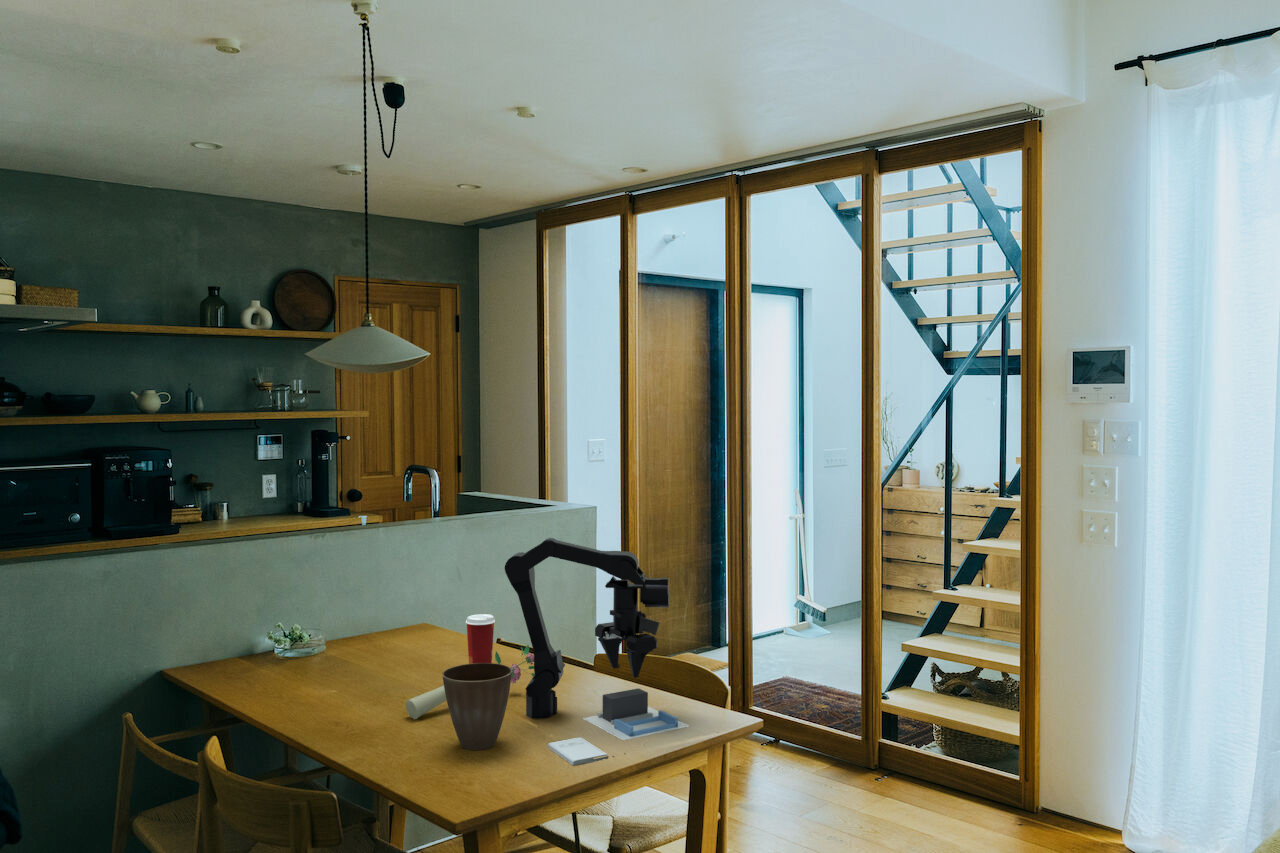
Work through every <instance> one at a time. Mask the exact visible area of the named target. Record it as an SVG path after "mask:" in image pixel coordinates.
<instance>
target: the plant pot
mask: <svg viewBox="0 0 1280 853" xmlns="http://www.w3.org/2000/svg"><path fill="white" fill-rule="evenodd" d="M510 667H511V666H508V665H505V664H502V663H500V664H498V663H493V662H492V663H472V664H469V663H465V664H459V665H455V666H452V667H449V668H447V669H445V670H444V671H443V672H442V682H443V685H444V689H445V695H446V699H447V700H446V703H447V707H448V710H449V716H450V718H451V719H450V720H451V722H452V725H453V728H454V731H455V733H456V737H457V739H458V741H459V744H460V747H461V748H463V749H464V750H468V751H482V750H486V749H490V748H493V747H494V746H495V745H496V744H497V740H498V736H499V735H500V732H501V731H500V730H502V729H501V728H502V726H503V721H504V717H505V713H506V710H507V706H508V701H509V696H510V690H511V683H512V682H511V675H512V669H511V668H510Z"/></svg>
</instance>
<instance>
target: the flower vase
mask: <svg viewBox="0 0 1280 853" xmlns="http://www.w3.org/2000/svg"><path fill="white" fill-rule="evenodd" d="M520 650H521V656H526V657H524V659H525V660H524V659H522V660H521V662H520V663H519V664H516V663H512V665H511V666H509V667H510V668H511V669H512V675H511V683H512V684H516V683H517V681H519V680H520V678H521V675H522V674H521V672H522V671H523V672H525V669H521V668H520V667H519V666H520V665H522V664H524V663H526V664H527V665H528V664H530V665H529V666H528V667H527V668H526V673H527V674H528V675H529V674H530V675H531V676H532V678H533V677H534V676H535V673H534V672H532V673H529V672H527V670H534V654H533V653H531V652H530V646H529V644H527V645H526V646H525V648H524V649H523V646H520ZM494 657H495V659H494V660H495V662H496V664H502V659H501V657H500V654H499V653H498V651H496V650H495V654H494ZM523 660H524V661H523ZM445 701H446V702H447V699H446V695H445V689H444V684H443V685H442V686H439V687H437V688H435V689H431V690H430V691H427V692H425V693H422V694H420V695H417V696H415V697H412V698H410V699H407V700H406V701H405V710H406V712H407V713H408V715H409V717H410V718H411V719H412V718H413V720H415V719H416V720H417V719H419V718H420V717H422V716H423V715H425V714H427V713H428V712H430V711H432V710H433V709H434V708H436V707H438V706H439V705H441V704H442V703H444V702H445Z"/></svg>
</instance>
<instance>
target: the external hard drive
mask: <svg viewBox="0 0 1280 853" xmlns="http://www.w3.org/2000/svg"><path fill="white" fill-rule="evenodd" d="M547 748H549V749H550V751H552V752H554V753H555V754H556V755H558V756H559V757H561V758H562V759H563V760H565V761H566V762H567V761H568V762H567V763H569V764H570V765H571V766H573V765H574V766H579V765H583V763H584V764H590V763H593V762H598V761H604V760H603V759H605V760H609V756H608V755H609V754H608V753H606V752H604V751H603V750H602V749H600V748H599V747H597V746H596V745H594V744H592V743H591V742H589V741H587V740H586V739H584V738H583V737H574V738H569V739H564V740H559V741H552V742H549V743H548V744H547ZM578 764H579V765H578Z"/></svg>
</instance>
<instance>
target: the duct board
mask: <svg viewBox="0 0 1280 853" xmlns="http://www.w3.org/2000/svg"><path fill="white" fill-rule="evenodd" d="M582 719H583V720H584V721H586V722H588V723H590V724H592V725H593V726H596V727H597V728H599V729H601V730H603V731H604V732H607V733H608V734H611V735H612V736H614V737H616V738H618V739H619V740H621V741H628V740H633V739H637V738H642V737H646V736H651V735H656V734H659V733H666V732H670V731H675V730H678V729H679V730H680V729H684V728H687V727H690V725H689V724H687V723H685V722H682V721H680V720H679V718H678V717H676V716H675V715H672V714H670V713H668V712H666V711H664V710H662V709H661V710H660V709H659V710H657V709H655V708H653V707H650V706H648V713H646V714H641V715H636V716H631V717H626V718H621V719H614V720H611V722H609V721H607V720H605V719H603V712H599V713H598V712H597V715H593V716H587V717H582Z"/></svg>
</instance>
